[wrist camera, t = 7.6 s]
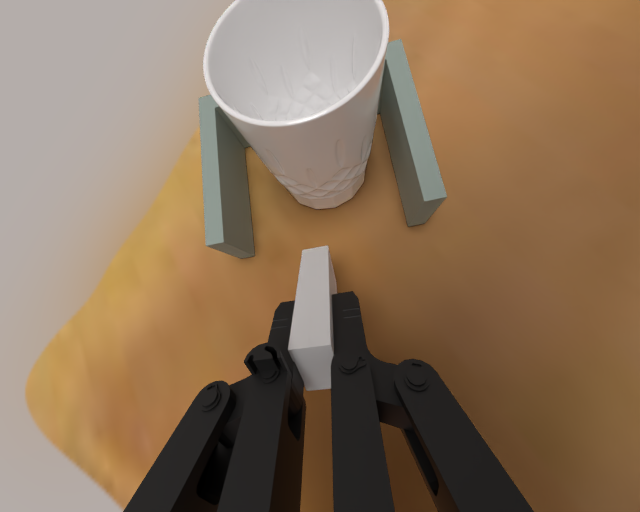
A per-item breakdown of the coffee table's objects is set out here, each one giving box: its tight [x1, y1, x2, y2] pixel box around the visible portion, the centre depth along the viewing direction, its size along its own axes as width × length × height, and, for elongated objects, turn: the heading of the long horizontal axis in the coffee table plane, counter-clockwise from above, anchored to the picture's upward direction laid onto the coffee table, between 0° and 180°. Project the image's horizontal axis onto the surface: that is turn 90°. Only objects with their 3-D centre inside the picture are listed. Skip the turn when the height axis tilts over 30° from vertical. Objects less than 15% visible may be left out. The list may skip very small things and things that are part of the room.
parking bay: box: [199, 39, 447, 259], centre depth 17 cm, size 14×11×4 cm
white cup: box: [203, 0, 389, 209], centre depth 14 cm, size 8×8×10 cm
